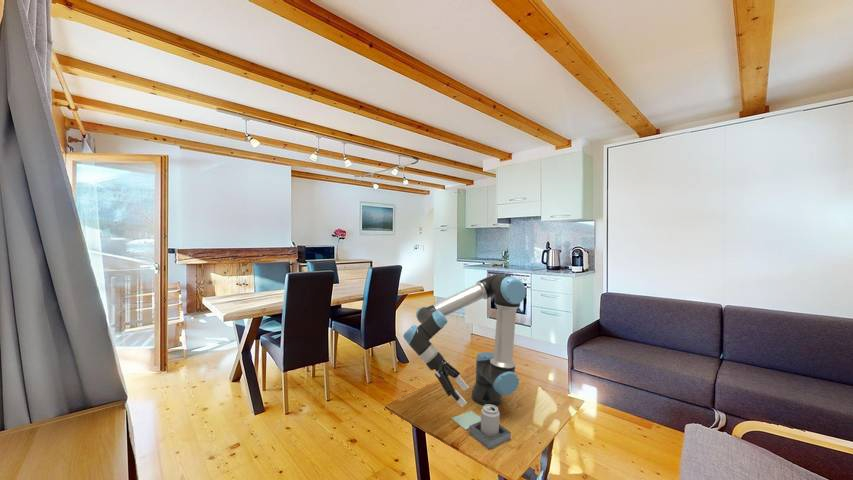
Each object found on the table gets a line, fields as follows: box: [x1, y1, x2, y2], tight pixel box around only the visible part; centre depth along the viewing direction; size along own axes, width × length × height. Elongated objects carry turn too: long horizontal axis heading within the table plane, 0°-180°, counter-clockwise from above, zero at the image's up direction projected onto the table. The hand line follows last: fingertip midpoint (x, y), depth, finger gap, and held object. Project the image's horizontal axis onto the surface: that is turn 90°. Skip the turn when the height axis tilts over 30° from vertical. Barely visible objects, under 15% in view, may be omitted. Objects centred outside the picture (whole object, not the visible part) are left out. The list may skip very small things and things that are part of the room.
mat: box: [451, 410, 481, 431], centre depth 142 cm, size 12×10×1 cm
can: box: [480, 404, 501, 438], centre depth 131 cm, size 8×8×12 cm
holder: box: [468, 421, 512, 450], centre depth 131 cm, size 12×12×3 cm
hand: (465, 396), depth 133 cm, fingers open, 13 cm apart
